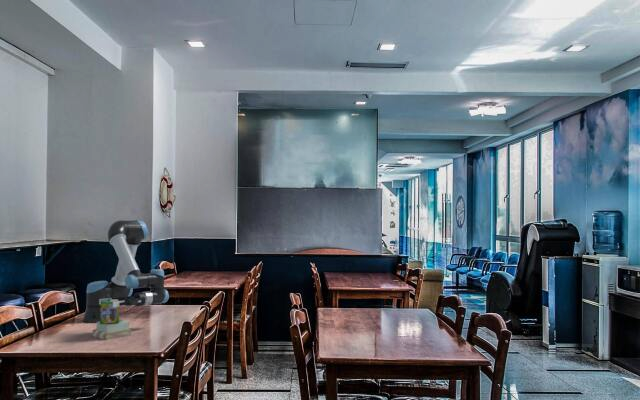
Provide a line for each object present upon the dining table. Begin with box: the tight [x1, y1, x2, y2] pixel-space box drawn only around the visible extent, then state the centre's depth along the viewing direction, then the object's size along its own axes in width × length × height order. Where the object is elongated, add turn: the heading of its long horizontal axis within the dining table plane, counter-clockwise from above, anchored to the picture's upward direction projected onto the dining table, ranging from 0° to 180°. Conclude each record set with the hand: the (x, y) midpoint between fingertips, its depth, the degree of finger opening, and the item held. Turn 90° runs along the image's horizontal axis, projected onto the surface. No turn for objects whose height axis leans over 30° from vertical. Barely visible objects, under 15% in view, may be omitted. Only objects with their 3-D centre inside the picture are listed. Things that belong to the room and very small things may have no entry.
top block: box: [96, 318, 130, 333], centre depth 281 cm, size 12×12×4 cm
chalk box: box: [100, 295, 120, 324], centre depth 279 cm, size 9×9×15 cm
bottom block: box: [92, 328, 132, 341], centre depth 280 cm, size 14×14×4 cm
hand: (106, 303), depth 278 cm, fingers open, 13 cm apart
